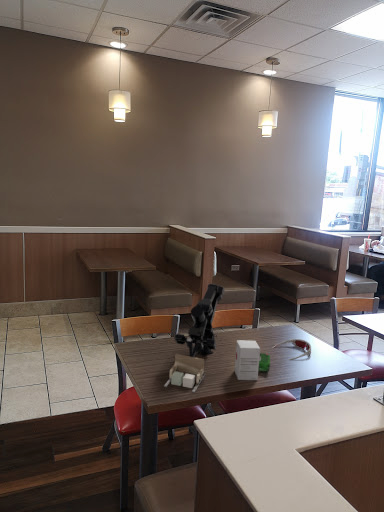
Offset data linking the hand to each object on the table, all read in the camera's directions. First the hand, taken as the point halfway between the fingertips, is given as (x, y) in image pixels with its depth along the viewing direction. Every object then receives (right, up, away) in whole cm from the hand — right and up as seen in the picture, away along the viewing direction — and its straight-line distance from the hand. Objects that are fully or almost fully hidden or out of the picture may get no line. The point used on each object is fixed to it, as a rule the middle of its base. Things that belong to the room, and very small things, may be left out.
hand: (190, 359), depth 176 cm
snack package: (+33, -7, +11) cm, 36 cm away
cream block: (-1, -9, -9) cm, 13 cm away
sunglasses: (+53, -5, +31) cm, 62 cm away
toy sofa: (-2, -7, -4) cm, 9 cm away
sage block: (-6, -8, -8) cm, 13 cm away
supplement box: (+24, -8, +2) cm, 26 cm away
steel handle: (-2, -8, -6) cm, 10 cm away
